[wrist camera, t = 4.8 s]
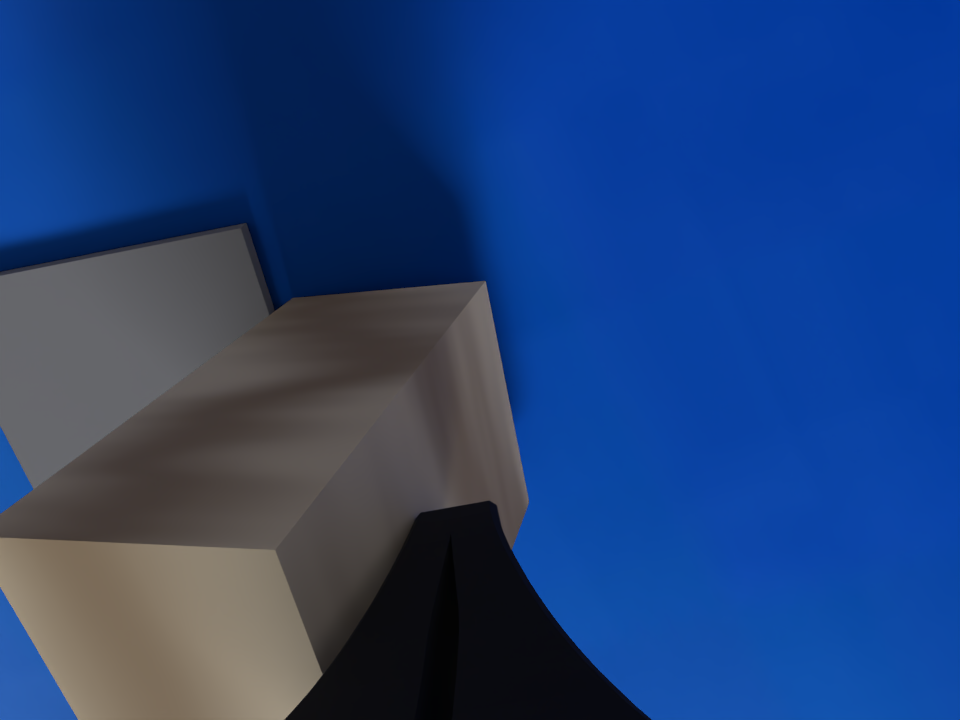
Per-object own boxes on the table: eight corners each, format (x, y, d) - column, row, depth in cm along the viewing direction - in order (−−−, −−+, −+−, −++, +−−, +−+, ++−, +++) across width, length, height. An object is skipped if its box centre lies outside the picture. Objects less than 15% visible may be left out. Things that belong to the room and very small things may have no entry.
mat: (246, 223, 17) (240, 228, 17) (355, 559, 21) (354, 571, 21) (-58, 283, 17) (-72, 290, 17) (107, 602, 21) (99, 614, 21)
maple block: (485, 280, 16) (275, 549, 8) (529, 501, 19) (395, 867, 11) (292, 298, 18) (-30, 536, 10) (355, 498, 20) (133, 814, 13)
